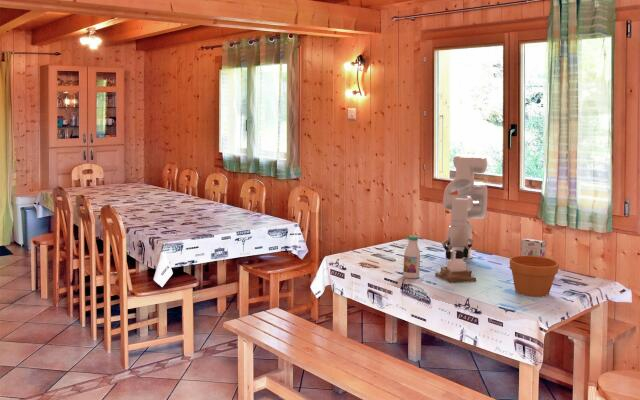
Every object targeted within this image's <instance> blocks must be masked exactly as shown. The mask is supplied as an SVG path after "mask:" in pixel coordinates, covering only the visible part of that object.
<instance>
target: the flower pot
mask: <svg viewBox="0 0 640 400" xmlns="http://www.w3.org/2000/svg"><path fill="white" fill-rule="evenodd" d="M559 266H560V263H559V261H557V260H555V259H552V258H550V257H546V256H545V257H539V256H521V255H514V256H512V257H510V258H509V269H510V270H511V273H512V280H513V286H514V290H515V292H516V293H517V294H519V295H522V296H526V297H532V298H533V297H534V298H536V297H537V298H543V296H544V297H547V296H549V294H550V292H551V289H552V286H553V283H554V280H555V278H556V275H557V274H558V272H559V268H560V267H559Z"/></svg>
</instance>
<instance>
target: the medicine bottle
mask: <svg viewBox="0 0 640 400" xmlns="http://www.w3.org/2000/svg"><path fill="white" fill-rule="evenodd" d="M450 251H451V259H450V260H449V259H446V260H447V263H446V267H447V269H448V270H450V271H452V272H460V271H466V269H467V262H466V261H465V260H464V259H463V255H464V253H463V252H462V251H460V250H450Z"/></svg>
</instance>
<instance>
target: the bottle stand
mask: <svg viewBox="0 0 640 400" xmlns="http://www.w3.org/2000/svg"><path fill="white" fill-rule="evenodd" d="M434 274H435V275H434V276H436V277H437V278H440V279H442V280H444V281H446V282H448V283H450V284H452V283H453V284H454V283H468V281H469V282H476V281H477V277H475V276H473V275H472V274H473V272H472V270H471V269H468V268H466V271H460V272H452V271H450V270H448V269H447V266H440V271H439V272H435V273H434Z"/></svg>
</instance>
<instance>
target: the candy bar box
mask: <svg viewBox="0 0 640 400" xmlns="http://www.w3.org/2000/svg"><path fill="white" fill-rule="evenodd" d="M546 245H547V241H546V240H540V239H533V238H528V237H527V238H525V237H524V238H522V239H521V247H520V256H539V257H545V258H546Z"/></svg>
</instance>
